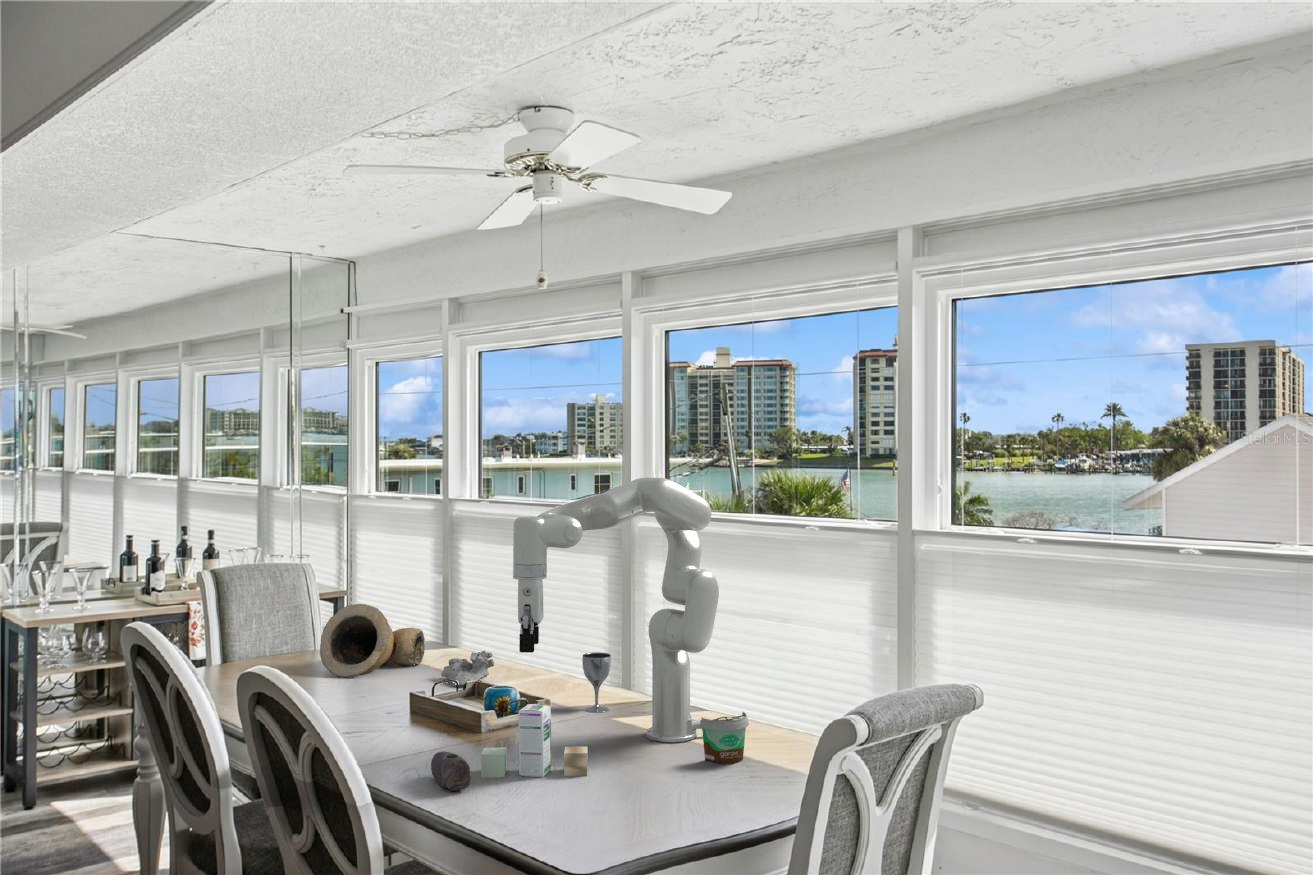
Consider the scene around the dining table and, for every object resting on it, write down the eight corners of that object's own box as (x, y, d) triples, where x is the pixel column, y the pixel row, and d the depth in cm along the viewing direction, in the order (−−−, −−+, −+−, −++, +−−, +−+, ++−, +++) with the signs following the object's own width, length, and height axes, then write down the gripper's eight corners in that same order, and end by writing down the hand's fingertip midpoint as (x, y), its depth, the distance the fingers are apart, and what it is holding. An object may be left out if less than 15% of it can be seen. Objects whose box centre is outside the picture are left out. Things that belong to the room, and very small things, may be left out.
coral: (499, 683, 299) (500, 651, 300) (461, 690, 290) (462, 657, 290) (470, 674, 312) (470, 643, 312) (433, 681, 303) (433, 649, 303)
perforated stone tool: (423, 777, 210) (423, 745, 210) (446, 773, 213) (446, 741, 213) (448, 797, 198) (449, 763, 198) (472, 793, 200) (473, 759, 201)
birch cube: (587, 769, 216) (587, 746, 216) (586, 776, 211) (587, 753, 211) (565, 769, 216) (565, 746, 216) (564, 776, 211) (564, 753, 211)
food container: (713, 769, 216) (713, 724, 216) (699, 761, 221) (699, 717, 222) (759, 761, 222) (759, 717, 222) (744, 754, 227) (744, 711, 227)
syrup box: (543, 777, 210) (543, 710, 210) (517, 776, 211) (518, 709, 211) (551, 769, 215) (551, 704, 216) (526, 768, 217) (526, 703, 217)
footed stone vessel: (424, 687, 332) (404, 676, 304) (340, 687, 331) (311, 675, 304) (430, 620, 340) (411, 602, 312) (348, 619, 340) (321, 602, 312)
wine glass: (577, 711, 266) (577, 656, 266) (590, 704, 273) (590, 651, 273) (603, 714, 263) (603, 658, 263) (615, 707, 270) (615, 653, 270)
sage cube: (506, 770, 215) (506, 747, 215) (504, 777, 210) (504, 754, 210) (484, 770, 215) (484, 748, 215) (481, 778, 210) (481, 754, 210)
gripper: (543, 576, 209) (542, 655, 208) (550, 567, 226) (549, 641, 225) (508, 576, 208) (507, 655, 208) (517, 567, 226) (517, 641, 225)
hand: (529, 648), depth 217 cm, fingers open, 9 cm apart
